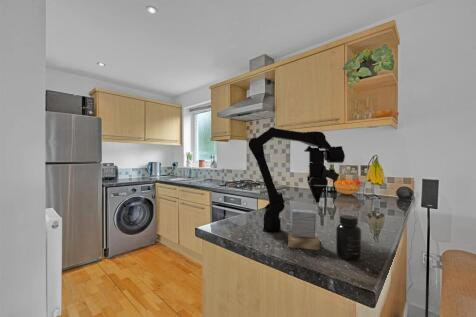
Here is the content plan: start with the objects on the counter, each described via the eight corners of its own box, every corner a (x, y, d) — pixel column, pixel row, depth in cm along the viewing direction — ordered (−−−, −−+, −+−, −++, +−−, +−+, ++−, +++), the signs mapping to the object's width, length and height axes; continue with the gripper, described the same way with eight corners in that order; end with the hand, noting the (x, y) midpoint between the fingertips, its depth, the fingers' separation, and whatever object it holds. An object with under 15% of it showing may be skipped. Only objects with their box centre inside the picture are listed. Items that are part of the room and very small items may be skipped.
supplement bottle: (331, 252, 70) (332, 214, 70) (352, 251, 71) (352, 213, 71) (344, 262, 63) (344, 220, 63) (366, 261, 64) (366, 219, 64)
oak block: (288, 248, 74) (288, 239, 74) (288, 238, 84) (288, 230, 84) (319, 251, 72) (319, 242, 72) (316, 240, 82) (316, 232, 82)
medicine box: (313, 234, 79) (314, 210, 79) (315, 239, 75) (316, 213, 75) (291, 232, 81) (291, 208, 81) (291, 236, 76) (292, 211, 76)
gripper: (342, 163, 80) (342, 206, 80) (333, 162, 99) (333, 197, 98) (310, 162, 83) (310, 204, 83) (307, 162, 101) (306, 196, 101)
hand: (316, 200), depth 91 cm, fingers open, 9 cm apart
